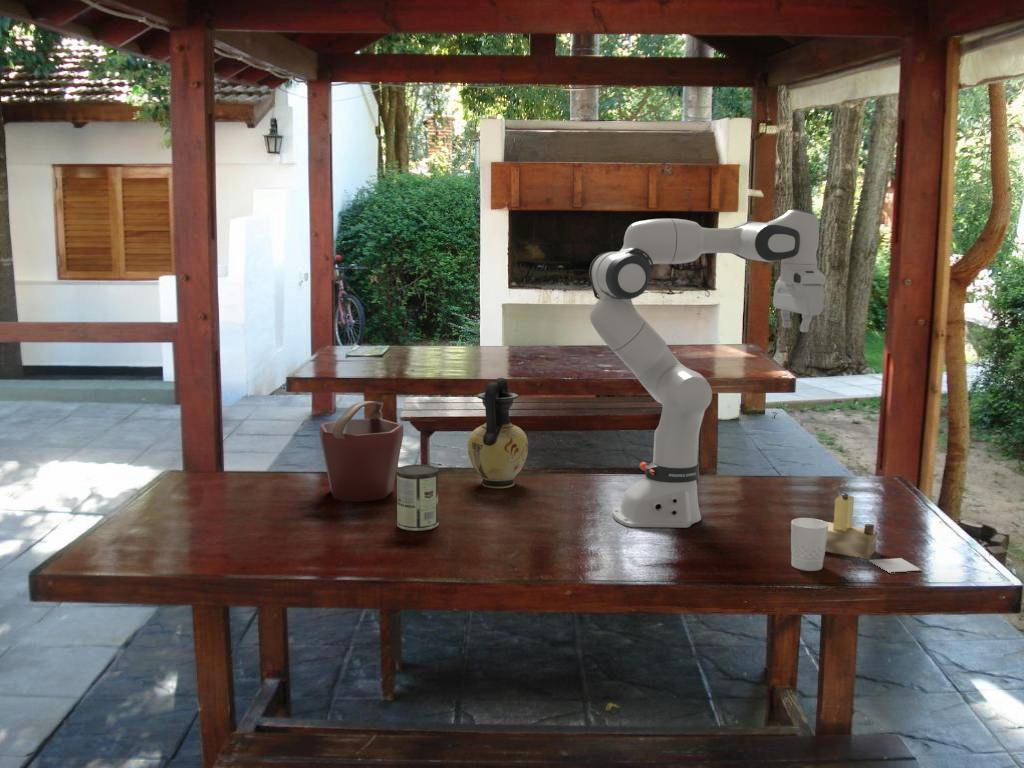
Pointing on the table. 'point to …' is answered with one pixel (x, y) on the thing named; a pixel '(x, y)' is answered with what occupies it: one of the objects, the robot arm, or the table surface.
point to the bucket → (361, 454)
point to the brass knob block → (843, 513)
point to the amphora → (497, 439)
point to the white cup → (808, 543)
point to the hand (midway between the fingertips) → (795, 329)
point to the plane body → (852, 541)
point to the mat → (894, 565)
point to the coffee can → (417, 497)
